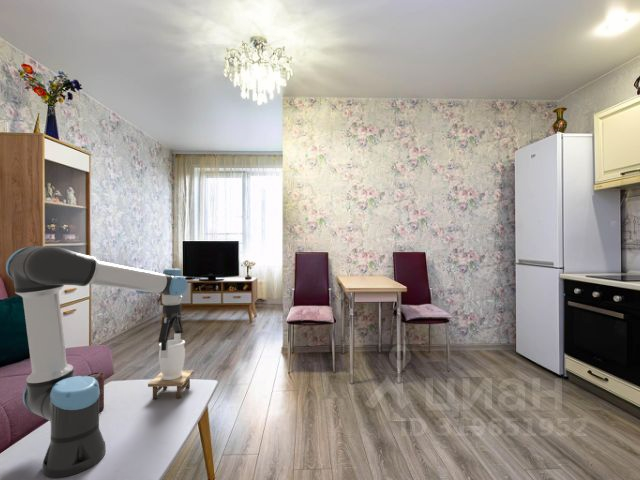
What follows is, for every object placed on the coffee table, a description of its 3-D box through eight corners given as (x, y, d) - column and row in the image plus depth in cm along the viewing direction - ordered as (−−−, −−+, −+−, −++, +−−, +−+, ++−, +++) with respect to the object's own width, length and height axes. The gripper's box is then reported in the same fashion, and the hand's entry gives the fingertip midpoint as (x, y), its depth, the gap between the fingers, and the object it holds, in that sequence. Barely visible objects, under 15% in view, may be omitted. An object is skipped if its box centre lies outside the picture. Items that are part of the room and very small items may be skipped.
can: (108, 407, 130) (108, 371, 130) (95, 415, 124) (95, 378, 124) (94, 406, 131) (94, 371, 131) (80, 414, 124) (81, 377, 124)
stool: (182, 400, 136) (182, 383, 136) (147, 400, 135) (147, 384, 135) (193, 385, 150) (193, 370, 150) (162, 386, 149) (162, 370, 149)
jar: (176, 370, 150) (176, 337, 150) (189, 375, 144) (189, 341, 144) (153, 378, 141) (154, 343, 141) (166, 383, 135) (166, 347, 135)
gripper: (169, 308, 131) (168, 362, 130) (190, 299, 156) (189, 344, 155) (149, 308, 130) (148, 362, 130) (174, 299, 155) (173, 344, 154)
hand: (171, 352), depth 142 cm, fingers open, 13 cm apart
